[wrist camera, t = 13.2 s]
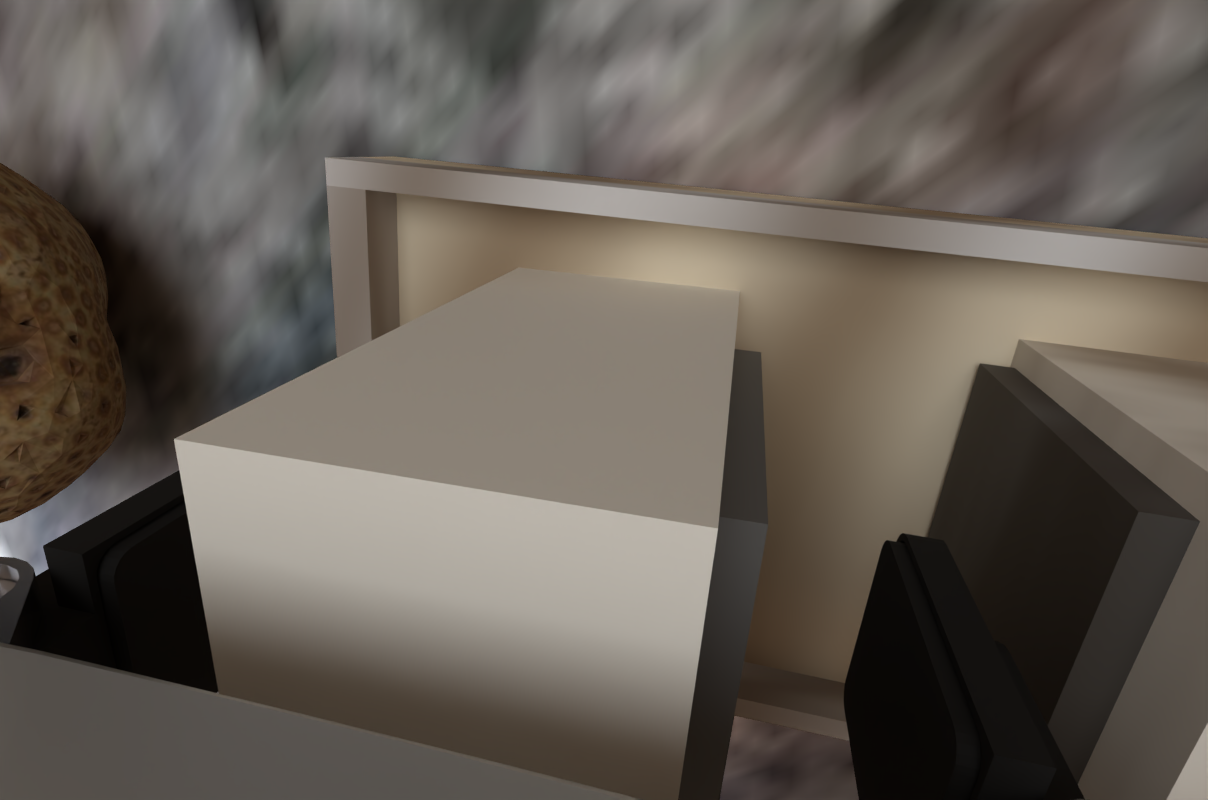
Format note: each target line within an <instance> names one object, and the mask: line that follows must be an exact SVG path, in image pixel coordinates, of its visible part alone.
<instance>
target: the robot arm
mask: <svg viewBox="0 0 1208 800" xmlns="http://www.w3.org/2000/svg"><path fill="white" fill-rule="evenodd" d="M43 548H44V552H45V556H46V560H47V564H48V568H49V569H48V570H46V571H44V572H43V573H41V574H39V575H38V576H35V572H34V568H33V567H32V566H31V565H30V564H29V563H28V562H26V561H23V560H20V559H17V558H9V557H0V800H643V799H639V798H635V797H631V796H627V795H623V794H619V793H615V792H611V791H607V790H603V789H599V788H596V787H592V786H588V785H584V784H580V783H576V782H572V781H568V780H564V779H560V778H556V777H552V776H549V775H545V774H541V773H537V772H533V771H529V770H525V769H521V768H517V767H513V766H509V765H505V764H501V763H497V762H493V761H489V760H485V759H481V758H477V757H473V756H469V755H465V754H461V753H457V752H453V751H449V750H445V749H441V748H437V747H433V746H429V745H425V744H421V743H417V742H413V741H409V740H405V739H401V738H397V737H393V736H389V735H385V734H381V733H377V732H373V731H369V730H365V729H361V728H357V727H353V726H349V725H345V724H341V723H337V722H333V721H329V720H325V719H321V718H316V717H312V716H308V715H304V714H300V713H296V712H292V711H288V710H284V709H280V708H276V707H272V706H268V705H263V704H259V703H255V702H251V701H247V700H243V699H239V698H235V697H230V696H226V695H222V694H218V693H217V692H218V686H217V681H216V675H215V669H214V664H213V658H212V652H211V647H210V641H209V635H208V630H207V624H206V618H205V613H204V607H203V601H202V596H201V590H200V584H199V579H198V573H197V567H196V562H195V556H194V550H193V545H192V539H191V533H190V528H189V522H188V516H187V511H186V505H185V499H184V494H183V488H182V482H181V477H180V471H177V472H175V473H173V474H172V475H170V476H168V477H166V478H164V479H163V480H161V481H159V482H157V483H155V484H154V485H152V486H150V487H148V488H147V489H145V490H143V491H141V492H139V493H138V494H136V495H134V496H132V497H130V498H129V499H127V500H125V501H123V502H121V503H120V504H118V505H116V506H114V507H112V508H111V509H109V510H107V511H105V512H103V513H102V514H100V515H98V516H96V517H94V518H93V519H91V520H89V521H87V522H85V523H84V524H82V525H80V526H78V527H76V528H75V529H73V530H71V531H69V532H67V533H66V534H64V535H62V536H60V537H58V538H57V539H55V540H53V541H51V542H49V543H48V544H46V545H44V546H43ZM844 710H845V716H846V723H847V729H848V735H849V741H850V747H851V753H852V759H853V765H854V771H855V777H856V784H857V790H858V796H859V800H1086V799H1085V798H1084V796H1083V794H1082V792H1081V790H1080V788H1079V786H1078V784H1077V782H1076V780H1075V778H1074V777H1073V775H1072V773H1071V771H1070V769H1069V767H1068V765H1067V763H1066V761H1065V759H1064V757H1063V755H1062V753H1061V751H1060V749H1059V747H1058V745H1057V743H1056V741H1055V739H1054V738H1053V736H1052V734H1051V732H1050V730H1049V728H1048V726H1047V724H1046V722H1045V720H1044V718H1043V716H1042V714H1041V712H1040V710H1039V708H1038V706H1037V704H1036V702H1035V700H1034V699H1033V697H1032V695H1031V693H1030V691H1029V689H1028V687H1027V685H1026V683H1025V681H1024V679H1023V677H1022V675H1021V673H1020V671H1019V669H1018V667H1017V665H1016V663H1015V661H1014V660H1013V658H1012V656H1011V654H1010V652H1009V651H1008V649H1007V648H1006V646H1005V645H1004V644H1002V643H1000V642H998V641H994V640H993V638H992V636H991V634H990V632H989V630H988V628H987V626H986V624H985V622H984V620H983V618H982V616H981V614H980V612H979V609H978V607H977V605H976V603H975V601H974V599H973V597H972V595H971V593H970V591H969V589H968V587H967V585H966V583H965V581H964V579H963V577H962V575H961V573H960V571H959V569H958V567H957V565H956V563H955V561H954V559H953V557H952V555H951V553H950V551H949V549H948V547H947V545H946V543H945V542H944V540H940V539H934V538H928V537H922V536H917V535H911V534H905V533H902V534H900V535H899V537H898V539H897V541H896V542H895V541H889V540H886V541H885V542H884V544H883V546H882V549H881V553H880V556H879V560H878V564H877V567H876V571H875V574H874V578H873V582H872V585H871V589H870V593H869V596H868V600H867V604H866V607H865V611H864V615H863V618H862V622H861V626H860V629H859V633H858V637H857V640H856V644H855V647H854V651H853V655H852V658H851V662H850V666H849V669H848V673H847V677H846V681H845V686H844Z"/></svg>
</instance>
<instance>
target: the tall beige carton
mask: <svg viewBox="0 0 1208 800" xmlns="http://www.w3.org/2000/svg"><path fill="white" fill-rule="evenodd" d="M739 296H740V291H734V290H725V289H716V288H706V287H697V286H687V285H678V284H669V283H659V282H650V281H640V280H631V279H621V278H612V277H603V276H593V275H584V274H574V273H565V272H555V271H546V270H537V269H527V268H517V269H515V270H513V271H511V272H509V273H507V274H505V275H503V276H501V277H499V278H497V279H495V280H493V281H491V282H489V283H487V284H485V285H483V286H481V287H479V288H477V289H475V290H473V291H471V292H469V293H467V294H465V295H463V296H461V297H459V298H457V299H454V300H452V301H450V302H448V303H446V304H444V305H442V306H440V307H438V308H436V309H434V310H432V311H430V312H428V313H426V314H424V315H422V316H420V317H418V318H416V319H414V320H412V321H410V322H408V323H406V324H404V325H402V326H400V327H398V328H396V329H394V330H392V331H390V332H388V333H386V334H384V335H382V336H380V337H378V338H376V339H374V340H372V341H370V342H368V343H366V344H364V345H362V346H360V347H358V348H356V349H354V350H352V351H350V352H348V353H346V354H344V355H342V356H340V357H338V358H336V359H334V360H332V361H330V362H328V363H326V364H324V365H322V366H320V367H318V368H316V369H314V370H312V371H310V372H308V373H306V374H304V375H302V376H300V377H298V378H296V379H294V380H292V381H290V382H288V383H286V384H284V385H282V386H279V387H277V388H275V389H273V390H271V391H269V392H267V393H265V394H263V395H261V396H259V397H257V398H255V399H253V400H251V401H249V402H247V403H245V404H243V405H241V406H239V407H237V408H235V409H233V410H231V411H229V412H227V413H225V414H223V415H221V416H219V417H217V418H215V419H213V420H211V421H209V422H207V423H205V424H203V425H201V426H199V427H197V428H195V429H193V430H191V431H189V432H187V433H185V434H183V435H181V436H179V437H177V438H175V439H174V442H175V448H176V454H177V460H178V465H179V471H180V477H181V482H182V488H183V494H184V499H185V505H186V511H187V516H188V522H189V528H190V533H191V539H192V545H193V550H194V556H195V562H196V567H197V573H198V579H199V584H200V590H201V596H202V601H203V607H204V613H205V618H206V624H207V630H208V635H209V641H210V647H211V652H212V658H213V664H214V669H215V675H216V681H217V686H218V692H219V694H222V695H226V696H230V697H235V698H239V699H243V700H247V701H251V702H255V703H259V704H263V705H268V706H272V707H276V708H280V709H284V710H288V711H292V712H296V713H300V714H304V715H308V716H312V717H316V718H321V719H325V720H329V721H333V722H337V723H341V724H345V725H349V726H353V727H357V728H361V729H365V730H369V731H373V732H377V733H381V734H385V735H389V736H393V737H397V738H401V739H405V740H409V741H413V742H417V743H421V744H425V745H429V746H433V747H437V748H441V749H445V750H449V751H453V752H457V753H461V754H465V755H469V756H473V757H477V758H481V759H485V760H489V761H493V762H497V763H501V764H505V765H509V766H513V767H517V768H521V769H525V770H529V771H533V772H537V773H541V774H545V775H549V776H552V777H556V778H560V779H564V780H568V781H572V782H576V783H580V784H584V785H588V786H592V787H596V788H599V789H603V790H607V791H611V792H615V793H619V794H623V795H627V796H631V797H635V798H639V799H643V800H719V799H720V793H721V787H722V782H723V776H724V770H725V765H726V759H727V754H728V748H729V742H730V737H731V731H732V725H733V720H734V714H735V709H736V703H737V697H738V692H739V686H740V680H741V675H742V669H743V664H744V658H745V652H746V647H747V641H748V635H749V630H750V624H751V619H752V613H753V607H754V602H755V596H756V590H757V585H758V579H759V574H760V568H761V562H762V557H763V551H764V546H765V540H766V534H767V529H768V507H767V482H766V458H765V434H764V410H763V386H762V361H761V352H755V351H747V350H739V349H735V339H736V328H737V317H738V307H739Z"/></svg>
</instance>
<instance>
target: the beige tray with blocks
mask: <svg viewBox="0 0 1208 800" xmlns="http://www.w3.org/2000/svg"><path fill="white" fill-rule="evenodd" d="M325 165H326V182H327V198H328V215H329V231H330V248H331V264H332V281H333V297H334V313H335V330H336V346H337V358H338V357H340V356H342V355H344V354H346V353H348V352H350V351H352V350H354V349H356V348H358V347H360V346H362V345H364V344H366V343H368V342H370V341H372V340H374V339H376V338H378V337H380V336H382V335H384V334H386V333H388V332H390V331H392V330H394V329H396V328H398V327H400V326H402V325H404V324H406V323H408V322H410V321H412V320H414V319H416V318H418V317H420V316H422V315H424V314H426V313H428V312H430V311H432V310H434V309H436V308H438V307H440V306H442V305H444V304H446V303H448V302H450V301H452V300H454V299H457V298H459V297H461V296H463V295H465V294H467V293H469V292H471V291H473V290H475V289H477V288H479V287H481V286H483V285H485V284H487V283H489V282H491V281H493V280H495V279H497V278H499V277H501V276H503V275H505V274H507V273H509V272H511V271H513V270H515V269H517V268H527V269H537V270H546V271H555V272H565V273H574V274H584V275H593V276H603V277H612V278H621V279H631V280H640V281H650V282H659V283H669V284H678V285H687V286H697V287H706V288H716V289H725V290H734V291H740V296H739V307H738V317H737V328H736V339H735V349H739V350H747V351H755V352H761V361H762V386H763V410H764V434H765V458H766V482H767V507H768V529H767V534H766V540H765V546H764V551H763V557H762V562H761V568H760V574H759V579H758V585H757V590H756V596H755V602H754V607H753V613H752V619H751V624H750V630H749V635H748V641H747V647H746V652H745V658H744V664H743V669H742V675H741V680H740V686H739V692H738V697H737V703H736V709H735V714H734V715H735V716H739V717H744V718H748V719H753V720H757V721H762V722H766V723H771V724H775V725H780V726H784V727H789V728H793V729H797V730H802V731H806V732H811V733H815V734H820V735H824V736H829V737H833V738H838V739H842V740H847V741H849V735H848V729H847V723H846V716H845V710H844V686H845V681H846V677H847V673H848V669H849V666H850V662H851V658H852V655H853V651H854V647H855V644H856V640H857V637H858V633H859V629H860V626H861V622H862V618H863V615H864V611H865V607H866V604H867V600H868V596H869V593H870V589H871V585H872V582H873V578H874V574H875V571H876V567H877V564H878V560H879V556H880V553H881V549H882V546H883V544H884V542H885V541H886V540H889V541H895V542H896V541H897V539H898V537H899V535H900V534H902V533H905V534H911V535H917V536H922V537H928V538H934V539H940V540H944V542H945V543H946V545H947V547H948V549H949V551H950V553H951V555H952V557H953V559H954V561H955V563H956V565H957V567H958V569H959V571H960V573H961V575H962V577H963V579H964V581H965V583H966V585H967V587H968V589H969V591H970V593H971V595H972V597H973V599H974V601H975V603H976V605H977V607H978V609H979V612H980V614H981V616H982V618H983V620H984V622H985V624H986V626H987V628H988V630H989V632H990V634H991V636H992V638H993V640H994V641H998V642H1000V643H1002V644H1004V645H1005V646H1006V648H1007V649H1008V651H1009V652H1010V654H1011V656H1012V658H1013V660H1014V661H1015V663H1016V665H1017V667H1018V669H1019V671H1020V673H1021V675H1022V677H1023V679H1024V681H1025V683H1026V685H1027V687H1028V689H1029V691H1030V693H1031V695H1032V697H1033V699H1034V700H1035V702H1036V704H1037V706H1038V708H1039V710H1040V712H1041V714H1042V716H1043V718H1044V720H1045V722H1046V724H1047V726H1048V728H1049V730H1050V732H1051V734H1052V736H1053V738H1054V739H1055V741H1056V743H1057V745H1058V747H1059V749H1060V751H1061V753H1062V755H1063V757H1064V759H1065V761H1066V763H1067V765H1068V767H1069V769H1070V771H1071V773H1072V775H1073V777H1074V778H1075V780H1076V782H1077V784H1078V786H1079V788H1080V790H1081V792H1082V794H1083V796H1084V798H1085V799H1086V800H1208V238H1199V237H1189V236H1179V235H1169V234H1160V233H1150V232H1140V231H1130V230H1120V229H1110V228H1100V227H1090V226H1080V225H1070V224H1060V223H1050V222H1040V221H1030V220H1020V219H1011V218H1001V217H991V216H981V215H971V214H961V213H951V212H941V211H931V210H921V209H911V208H901V207H891V206H881V205H871V204H862V203H852V202H842V201H832V200H822V199H812V198H802V197H792V196H782V195H772V194H762V193H752V192H742V191H732V190H722V189H712V188H703V187H693V186H683V185H673V184H663V183H653V182H643V181H633V180H623V179H613V178H603V177H593V176H583V175H573V174H563V173H554V172H544V171H534V170H524V169H514V168H504V167H494V166H484V165H474V164H464V163H454V162H444V161H434V160H424V159H414V158H405V157H331V158H325Z"/></svg>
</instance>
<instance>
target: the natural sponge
mask: <svg viewBox="0 0 1208 800" xmlns="http://www.w3.org/2000/svg"><path fill="white" fill-rule="evenodd" d="M107 305H108V291H107V281H106V274H105V270H104V267H103V263H102V259H101V257H100V255H99V253H98V251H97V249H96V247H95V245H94V244H93V242H92V240H91V239H90V237H89V235H88V234H87V233H86V231H85V230H84V228H83V227H82V225H81V224H80V223H79V222H78V221H77V220H76V219H75V218H74V217H73V216H72V215H71V213H70V212H69V211H68V210H67V209H66V208H65V207H64V206H63V205H61V204H60V203H59V202H57V201H56V200H55V199H54V198H52V197H51V196H49V195H48V194H46V193H45V192H44V191H42V190H41V189H39V188H38V187H37V186H35V185H34V184H32V183H31V182H30V181H28V180H27V179H25V178H24V177H22V176H21V175H19V174H17V173H16V172H14V171H13V170H11V169H9V168H8V167H6V166H5V165H3V164H1V163H0V523H2V522H5V521H8V520H12V519H14V518H16V517H18V516H20V515H22V514H24V513H26V512H28V511H30V510H32V509H34V508H36V507H38V506H40V505H42V504H44V503H45V502H46V501H48V500H49V499H51V498H52V497H53V496H55V495H56V494H58V493H59V492H60V491H62V490H63V489H65V488H66V487H68V486H69V485H70V484H71V483H72V482H74V481H75V480H76V479H77V478H78V477H80V476H81V475H82V474H83V473H84V472H85V471H86V470H87V469H88V468H89V467H90V466H91V465H92V464H93V463H94V462H95V461H96V460H97V459H98V458H99V457H100V456H101V455H102V454H103V453H104V452H105V451H106V450H107V449H108V448H109V447H110V445H111V444H112V442H113V441H114V439H115V438H116V436H117V435H118V433H119V432H120V431H121V427H122V424H123V420H124V417H125V409H126V383H125V379H124V375H123V370H122V364H121V359H120V354H119V349H118V346H117V344H116V341H115V339H114V337H113V334H112V332H111V330H110V328H109V325H108V322H107Z"/></svg>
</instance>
